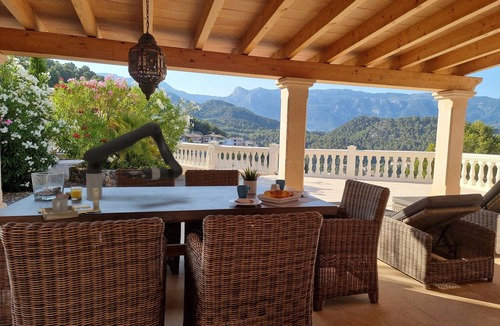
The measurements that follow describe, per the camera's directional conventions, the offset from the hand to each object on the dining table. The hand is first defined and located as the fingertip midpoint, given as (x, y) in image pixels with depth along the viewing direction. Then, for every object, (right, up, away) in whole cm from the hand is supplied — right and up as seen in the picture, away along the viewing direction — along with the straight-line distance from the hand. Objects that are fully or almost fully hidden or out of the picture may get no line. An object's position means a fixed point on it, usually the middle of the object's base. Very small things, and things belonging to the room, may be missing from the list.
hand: (123, 175), depth 194 cm
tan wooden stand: (-22, -20, -14) cm, 33 cm away
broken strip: (-32, -19, -5) cm, 38 cm away
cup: (-27, -21, -18) cm, 39 cm away
